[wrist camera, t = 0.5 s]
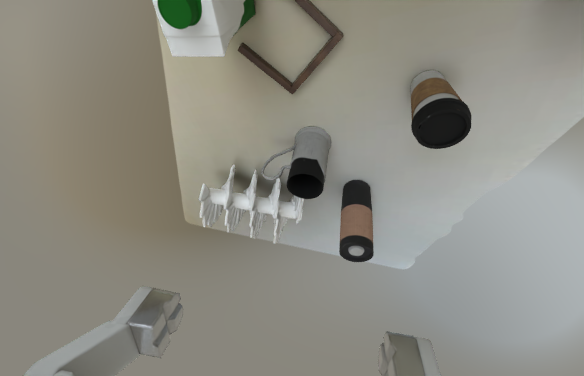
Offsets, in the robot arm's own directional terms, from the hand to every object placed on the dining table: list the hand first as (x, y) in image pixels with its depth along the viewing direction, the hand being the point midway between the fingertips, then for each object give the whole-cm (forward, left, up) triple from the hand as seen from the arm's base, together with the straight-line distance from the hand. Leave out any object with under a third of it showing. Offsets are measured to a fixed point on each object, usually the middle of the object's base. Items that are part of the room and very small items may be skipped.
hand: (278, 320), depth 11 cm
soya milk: (+11, -14, -50) cm, 53 cm away
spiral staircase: (+46, +15, -50) cm, 70 cm away
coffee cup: (0, +23, -50) cm, 55 cm away
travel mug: (+29, +35, -50) cm, 68 cm away
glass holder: (+27, +14, -50) cm, 59 cm away
